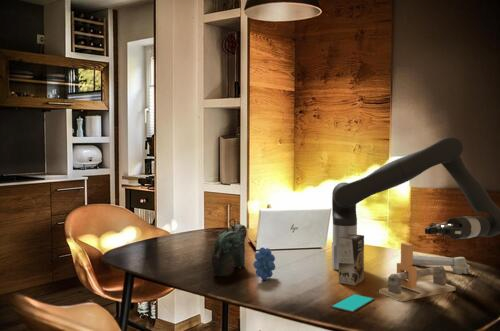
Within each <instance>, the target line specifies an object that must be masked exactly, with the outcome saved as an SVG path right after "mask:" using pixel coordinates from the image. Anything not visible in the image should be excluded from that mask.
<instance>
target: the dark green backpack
mask: <svg viewBox="0 0 500 331" xmlns="http://www.w3.org/2000/svg"><path fill="white" fill-rule="evenodd" d="M232 220H233V222H234V224H229V226H230V228H229V229H228V228H227V229H226V228H224V229H222V230H221V231H219V232H218V234H217V237H216V239H215V240H214V244H213V248H212V253H211V265H212V269H213V276H214V277H216V276H222V275H224V276H225V272H226V264H227V262H228V259H229V258H230V257H231V258H232V264H233V267H234V266H235V267H242V266H244V267H245V262H246V261H245V257H246V256H245V254H246V246H245V242H246V241H245V240H246V237H247V232H248V231H247V227H246V226H245V225H243V224H241V223H240V221H239V220H238V221H237V223H236V220H235V218H230V219H229V220H228V223H231V221H232ZM235 267H234V268H235ZM242 268H243V267H242ZM222 277H223V276H222Z"/></svg>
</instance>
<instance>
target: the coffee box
mask: <svg viewBox="0 0 500 331" xmlns="http://www.w3.org/2000/svg"><path fill="white" fill-rule="evenodd" d="M364 278H365V235H362V234H357V235H351V234H347V235H345V236H343V237H340V238H339V270H338V284H344V285H348V286H356V285H358V284H360V283H361V282H362V281H364Z"/></svg>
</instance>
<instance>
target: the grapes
mask: <svg viewBox="0 0 500 331" xmlns="http://www.w3.org/2000/svg"><path fill="white" fill-rule="evenodd" d="M254 259H255V261H254V262H253V264H252V265H253V268H254V269H255V275H256V276H257V277H259V278H261V280H263V281H266V280H267V279H268V278H272V276H273V275H274V274H273V271H274V270H276V264H275V263H274V262H275V260H276V258H275V256H274V254H272V250H271V249H270V248H269V247H268V248H267V247H266V248H265V247H260V248H259V250H258V251H257V252H256V253H255V254H254Z"/></svg>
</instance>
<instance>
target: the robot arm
mask: <svg viewBox="0 0 500 331" xmlns="http://www.w3.org/2000/svg"><path fill="white" fill-rule="evenodd" d="M463 151H464V144H463V142H462V140H460V138H458V137H455V136H446V137H443V138H441V139H439V140H437V141H436V142H435V143H433V144H430V145H429V146H427V147H425V148H423V149H420V150H418V151H416V152H414V153H413V152H412V153H410V154H407V155H405V156H402V157H400V158H397V159H394V160H391V161H390V162H388V163H386V164H383V165H382V166H380V167H379V168H377V169H375V170H374V171H373V172H371V173H370V174H368V175H367V176H365V177H363V178H360V179H356V180H355V181H352V182H340V183H337V184H336V185H335V186H334V187H333V190H332V193H331V194H332V196H331V199H332V200H331V202H332V203H331V205H332V209H331V210H332V212H331V214H332V242H331V266H332V269H333V271H335V270H337V271H339V238H340V237H343V236H345V235H347V234H351V235H358V215H357V204H358V203H360V202H362V201H364V200H366V199H368V198H369V197H372V196H374V195H376V194H379V193H382V192H385V191H387V190H390V189H393V188H394V187H397V186H401V185H402V184H405V183H407V182H410V181H411V180H413V179H414V178H416V177H418V176H419V175H421V174H423V173H424V172H425V171H427V170H429V169H430V168H433V167H435V166H438V165H442V167H443V168H444V169H445V170H446V171H447V172H448V173H449V174H450V176H451V177H452V178H453V179H454V181H455V182H456V184H457V186H458V188H460V191H461V192H462V193H463V195H464V197H465V198H466V200H467V201H468V203H469V205H470V207H471V208H472V209H473V211H474V212H475V213H477V214H481V213H486V214H487V215H488V216H487V217H484V216H479V215H476V216H454V217H450V218H449V219H447V221H444V222H441V223H437V224H436V223H435V222H430V224H429V226H428V227H427V226H426V227H424V234H425V235H438V236H439V235H441V236H442V237H443V236H444V237H445V236H448V237H449V238H451V239H452V240H464V239H471V238H475V237H483V238H492V237H496V236H497V235H498V236H499V235H500V207H499V205H497V204H496V203H495V202H494V201H493V200H492V199H491V197H490V196H489V194H488V192H487V191H486V189H485V188H484V186H483V185H482V184H481V183H480V181H479V180H478V179H477V178H476V177H475V176H474V175H473V174H472V173H471V172H470V170H469V169H468V168H467V166H466V165H465V163H464V161H463V159H462V154H463Z"/></svg>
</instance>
